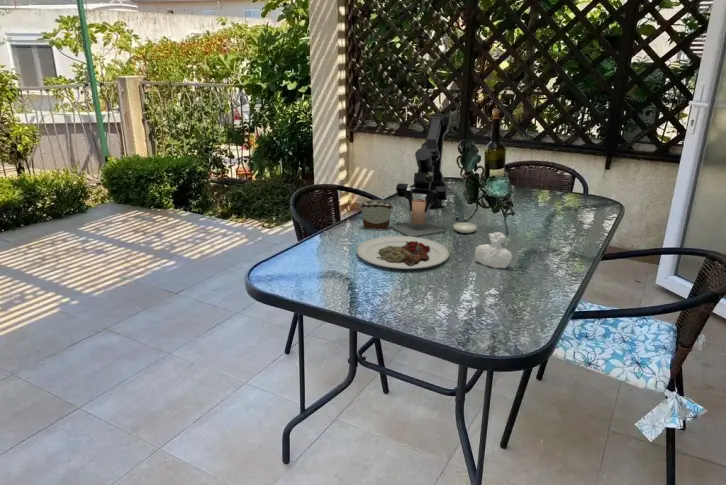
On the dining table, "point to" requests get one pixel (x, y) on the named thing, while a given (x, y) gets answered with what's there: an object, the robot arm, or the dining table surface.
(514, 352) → the dining table surface
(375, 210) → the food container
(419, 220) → the peach pillar candle
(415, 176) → the robot arm
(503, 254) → the white tied sack
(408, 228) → the rubber mat
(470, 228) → the cream ceramic bowl
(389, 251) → the plated food
